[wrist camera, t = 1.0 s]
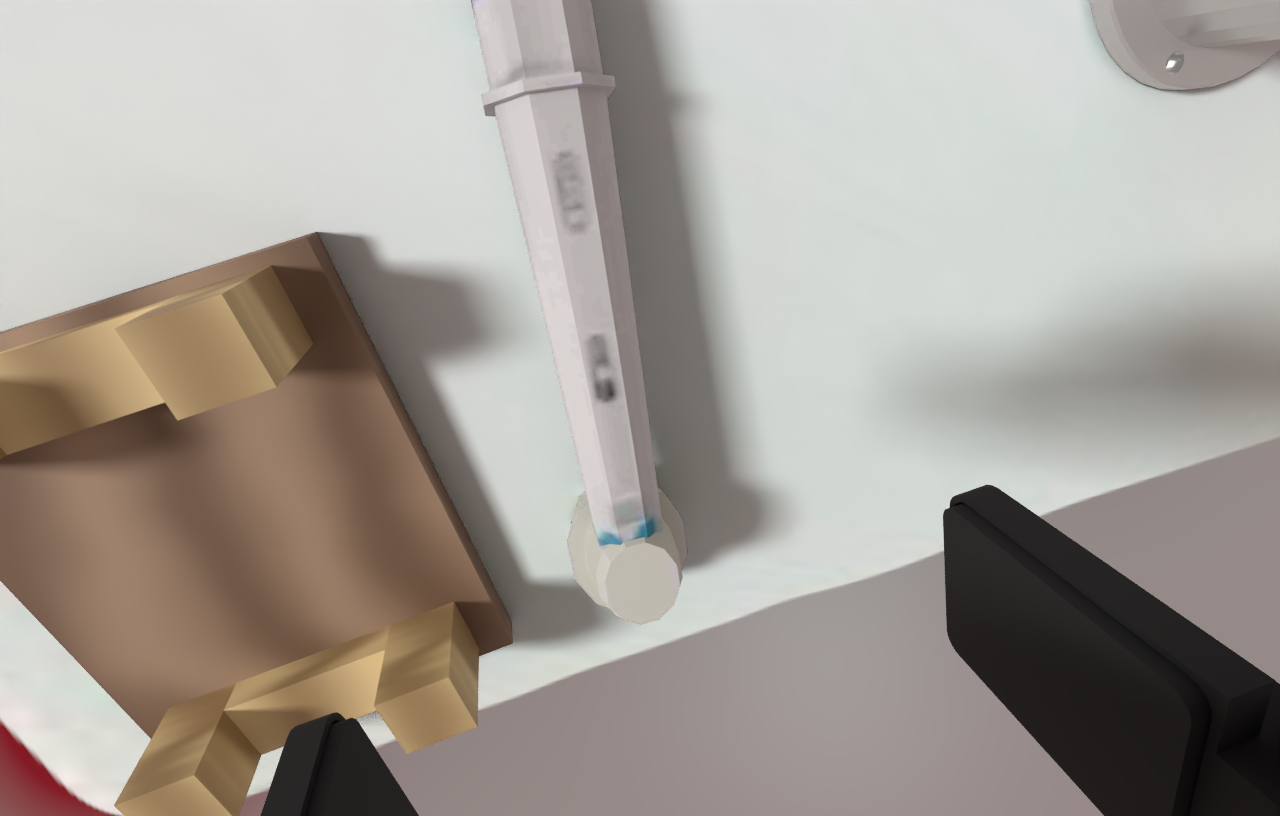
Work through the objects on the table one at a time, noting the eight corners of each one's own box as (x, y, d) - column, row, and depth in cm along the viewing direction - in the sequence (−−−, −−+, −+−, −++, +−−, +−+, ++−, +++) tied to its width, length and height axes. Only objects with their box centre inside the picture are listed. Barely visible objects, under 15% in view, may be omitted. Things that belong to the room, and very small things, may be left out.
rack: (316, 231, 23) (264, 260, 18) (511, 621, 32) (516, 720, 26) (-139, 376, 22) (-345, 454, 16) (194, 742, 30) (131, 872, 25)
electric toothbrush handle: (616, -61, 19) (722, 647, 26) (588, 15, 25) (679, 567, 32) (435, -42, 18) (596, 682, 25) (454, 31, 24) (579, 593, 31)
